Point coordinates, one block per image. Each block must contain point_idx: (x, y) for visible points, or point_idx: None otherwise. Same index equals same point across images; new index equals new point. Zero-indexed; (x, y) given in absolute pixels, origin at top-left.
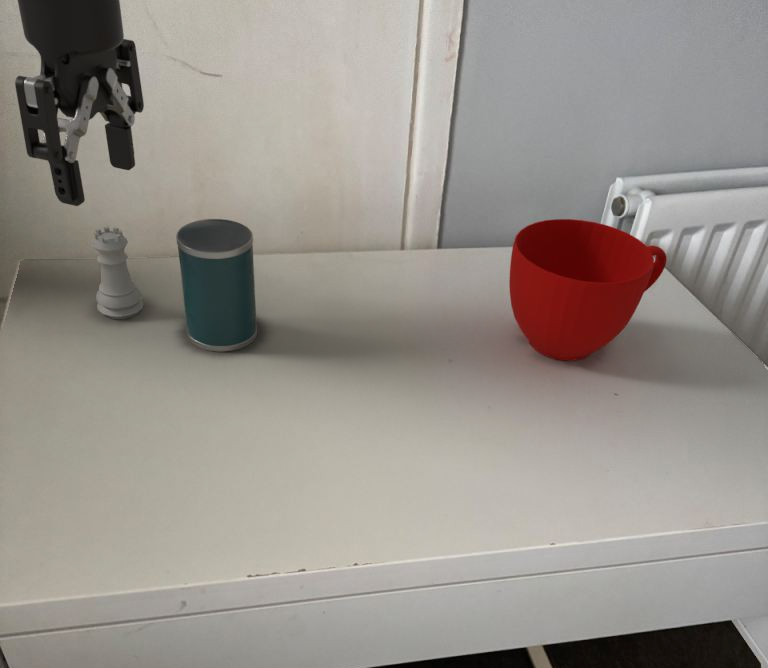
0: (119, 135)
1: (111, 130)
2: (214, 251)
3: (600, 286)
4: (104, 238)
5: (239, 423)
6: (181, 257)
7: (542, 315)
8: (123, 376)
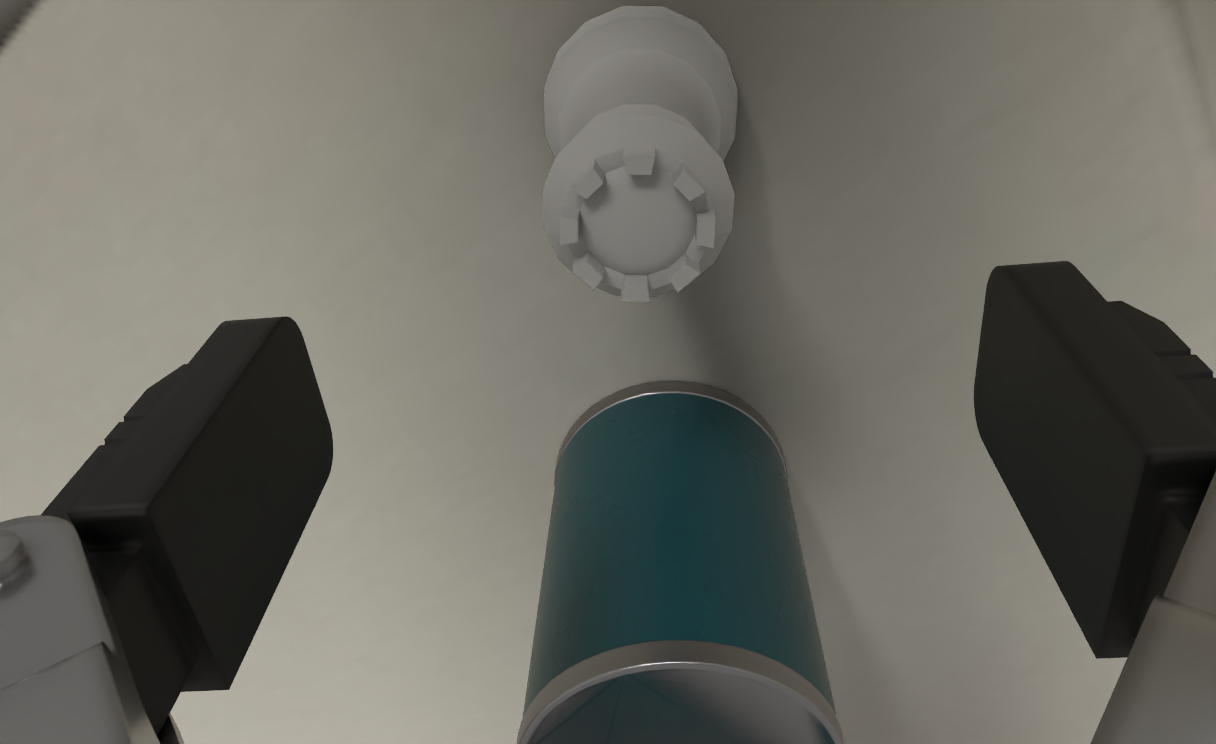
0: (1080, 538)
1: (1108, 494)
2: None
3: None
4: (600, 223)
5: (323, 669)
6: (549, 655)
7: None
8: None
